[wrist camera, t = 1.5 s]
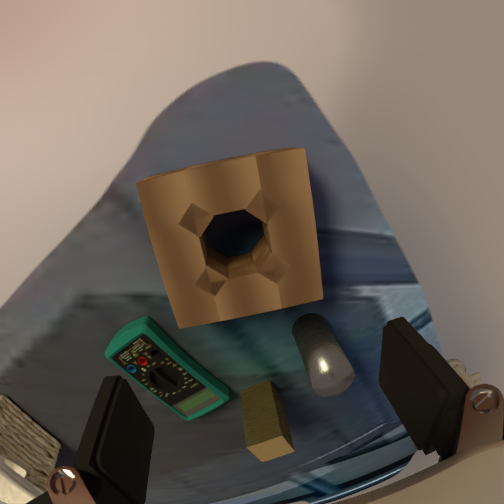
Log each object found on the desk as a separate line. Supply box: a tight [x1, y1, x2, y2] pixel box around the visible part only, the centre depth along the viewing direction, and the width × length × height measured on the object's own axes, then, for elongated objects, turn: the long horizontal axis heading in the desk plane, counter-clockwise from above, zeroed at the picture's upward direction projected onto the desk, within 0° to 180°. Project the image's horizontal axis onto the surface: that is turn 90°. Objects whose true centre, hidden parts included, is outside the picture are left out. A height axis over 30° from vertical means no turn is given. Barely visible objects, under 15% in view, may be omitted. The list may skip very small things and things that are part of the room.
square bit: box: [241, 380, 295, 462], centre depth 32 cm, size 4×4×9 cm
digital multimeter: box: [104, 316, 229, 421], centre depth 33 cm, size 7×15×3 cm, turn 37°
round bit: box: [292, 313, 355, 397], centre depth 30 cm, size 4×4×9 cm
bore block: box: [136, 147, 323, 329], centre depth 27 cm, size 13×13×5 cm
